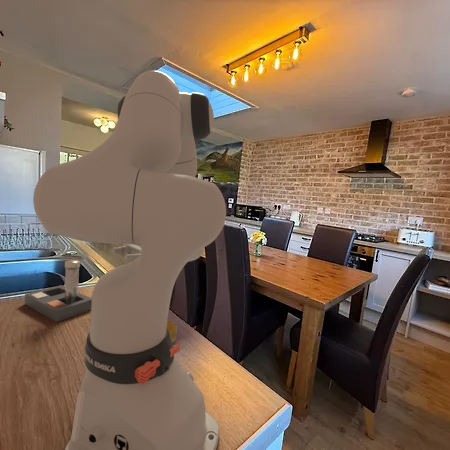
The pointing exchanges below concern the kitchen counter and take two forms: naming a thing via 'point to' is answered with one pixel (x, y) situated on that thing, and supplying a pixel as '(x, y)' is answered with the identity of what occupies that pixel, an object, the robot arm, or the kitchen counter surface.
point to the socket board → (56, 303)
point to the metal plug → (71, 281)
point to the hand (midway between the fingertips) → (119, 254)
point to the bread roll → (172, 331)
